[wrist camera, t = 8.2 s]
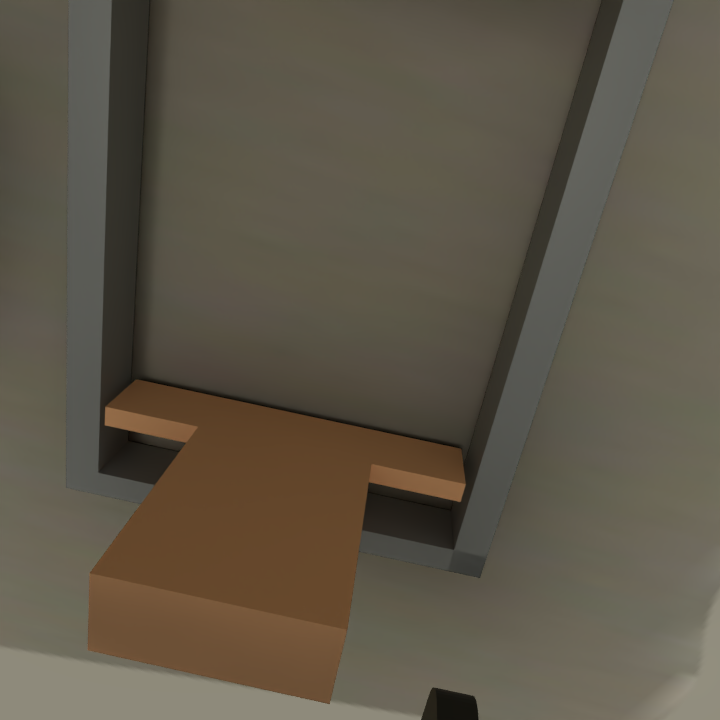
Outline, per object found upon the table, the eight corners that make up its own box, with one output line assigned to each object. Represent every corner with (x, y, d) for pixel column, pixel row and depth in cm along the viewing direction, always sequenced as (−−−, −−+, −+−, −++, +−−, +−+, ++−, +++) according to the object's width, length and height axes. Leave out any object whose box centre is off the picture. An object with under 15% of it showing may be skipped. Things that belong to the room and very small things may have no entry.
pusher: (136, 379, 19) (-48, 542, 11) (461, 448, 19) (488, 660, 11) (133, 434, 20) (-41, 621, 12) (446, 501, 19) (461, 733, 12)
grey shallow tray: (125, -480, 12) (-214, -1173, 6) (761, -361, 12) (1169, -941, 5) (98, 454, 20) (-52, 607, 14) (474, 536, 20) (499, 731, 14)
